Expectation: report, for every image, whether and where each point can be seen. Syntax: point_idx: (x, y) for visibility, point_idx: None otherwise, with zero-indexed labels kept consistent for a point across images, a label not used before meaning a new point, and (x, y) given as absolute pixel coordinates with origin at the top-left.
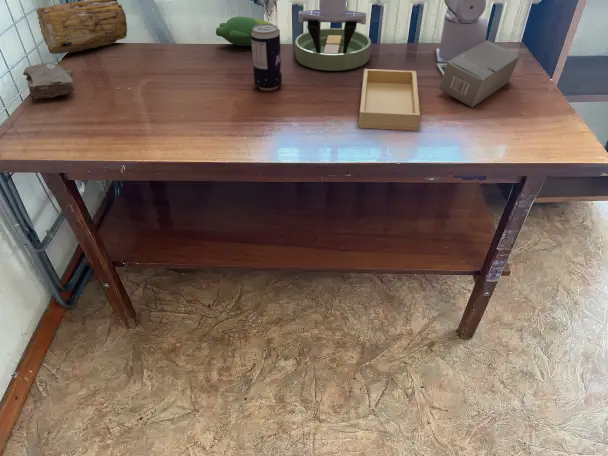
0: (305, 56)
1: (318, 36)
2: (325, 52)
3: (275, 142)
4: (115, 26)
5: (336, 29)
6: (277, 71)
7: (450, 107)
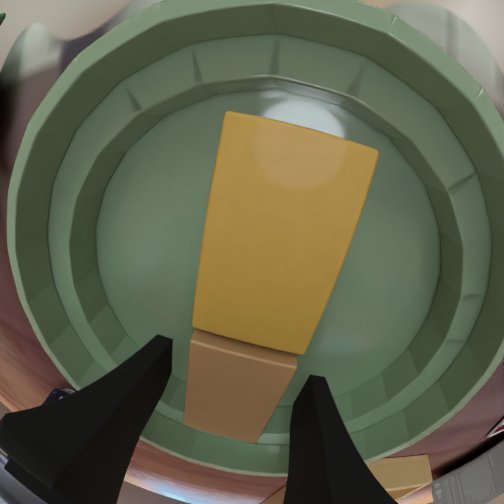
0: None
1: (126, 468)
2: (193, 425)
3: (155, 486)
4: None
5: (338, 21)
6: None
7: None
